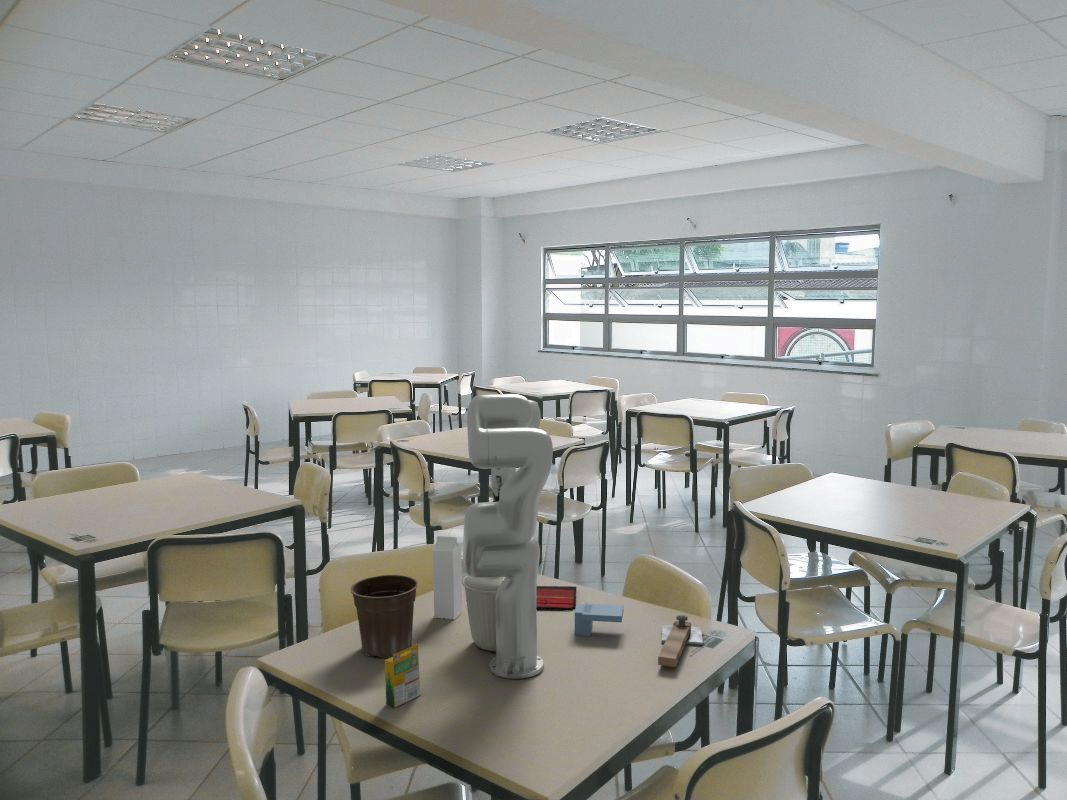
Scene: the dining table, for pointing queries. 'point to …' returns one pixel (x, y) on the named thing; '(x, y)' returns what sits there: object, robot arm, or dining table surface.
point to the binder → (556, 597)
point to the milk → (447, 578)
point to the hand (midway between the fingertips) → (503, 511)
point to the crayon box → (402, 676)
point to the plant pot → (385, 613)
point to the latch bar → (675, 642)
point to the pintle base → (693, 637)
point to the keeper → (595, 616)
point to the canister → (482, 609)
